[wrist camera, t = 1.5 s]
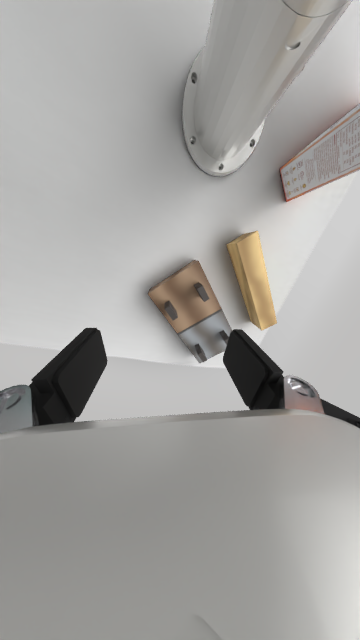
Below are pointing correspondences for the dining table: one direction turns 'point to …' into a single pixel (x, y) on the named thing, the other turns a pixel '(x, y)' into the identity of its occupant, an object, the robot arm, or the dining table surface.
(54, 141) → the dining table surface
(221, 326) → the door and jamb
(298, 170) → the cracker box
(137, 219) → the dining table surface
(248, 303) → the bar
